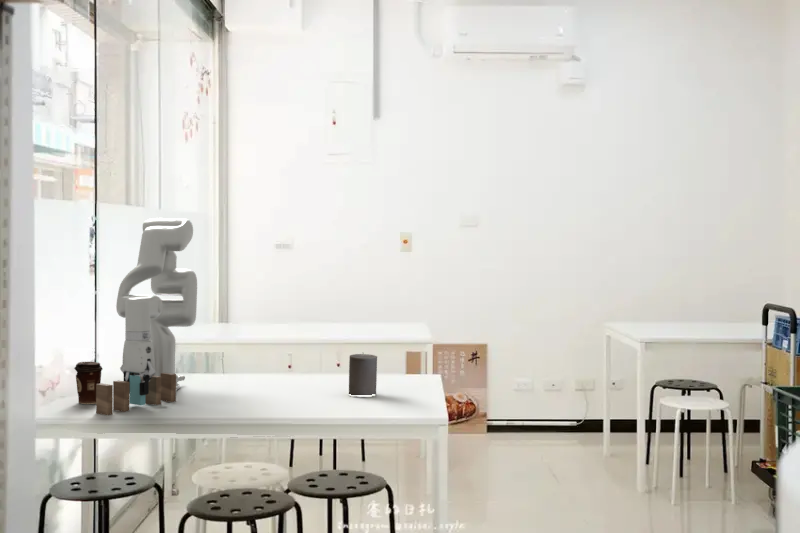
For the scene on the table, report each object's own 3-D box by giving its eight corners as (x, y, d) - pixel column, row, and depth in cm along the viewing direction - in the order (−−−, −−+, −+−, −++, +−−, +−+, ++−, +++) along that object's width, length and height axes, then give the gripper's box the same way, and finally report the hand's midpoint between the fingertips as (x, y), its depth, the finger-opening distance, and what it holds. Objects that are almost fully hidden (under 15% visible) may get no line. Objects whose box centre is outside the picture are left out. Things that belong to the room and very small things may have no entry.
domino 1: (118, 409, 279) (118, 380, 279) (129, 410, 276) (129, 381, 276) (113, 410, 277) (113, 381, 277) (124, 411, 275) (124, 382, 274)
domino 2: (134, 402, 284) (134, 374, 284) (145, 404, 282) (145, 376, 281) (129, 403, 283) (129, 375, 282) (140, 405, 280) (140, 376, 280)
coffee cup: (71, 405, 283) (72, 364, 283) (76, 400, 291) (76, 361, 291) (100, 404, 285) (100, 364, 284) (104, 400, 293) (104, 360, 292)
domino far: (101, 412, 273) (101, 383, 273) (112, 414, 271) (112, 384, 270) (96, 413, 272) (96, 384, 271) (107, 415, 269) (107, 385, 269)
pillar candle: (343, 396, 306) (344, 352, 306) (357, 391, 315) (358, 349, 314) (367, 399, 302) (368, 355, 301) (381, 394, 310) (382, 351, 310)
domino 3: (150, 402, 290) (150, 375, 290) (161, 404, 287) (161, 376, 287) (145, 403, 288) (145, 375, 288) (156, 405, 286) (156, 377, 285)
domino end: (165, 399, 295) (165, 372, 295) (175, 401, 293) (176, 373, 292) (160, 400, 294) (160, 373, 293) (171, 402, 291) (171, 374, 291)
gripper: (166, 337, 280) (165, 394, 281) (128, 333, 289) (128, 389, 290) (147, 339, 274) (147, 398, 274) (109, 335, 283) (109, 392, 283)
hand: (137, 393), depth 282 cm, fingers closed on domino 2, 5 cm apart
